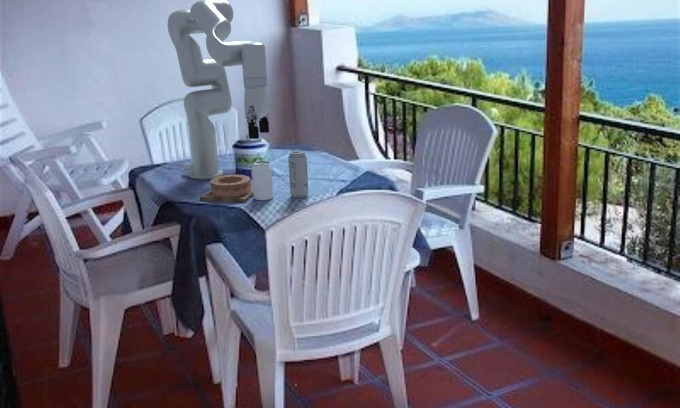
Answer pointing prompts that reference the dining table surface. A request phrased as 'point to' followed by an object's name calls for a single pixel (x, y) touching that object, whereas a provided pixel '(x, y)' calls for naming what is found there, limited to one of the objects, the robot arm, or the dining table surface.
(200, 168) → the robot arm
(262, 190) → the can
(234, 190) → the socket block
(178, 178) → the dining table surface
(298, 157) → the energy drink can
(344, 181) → the dining table surface
